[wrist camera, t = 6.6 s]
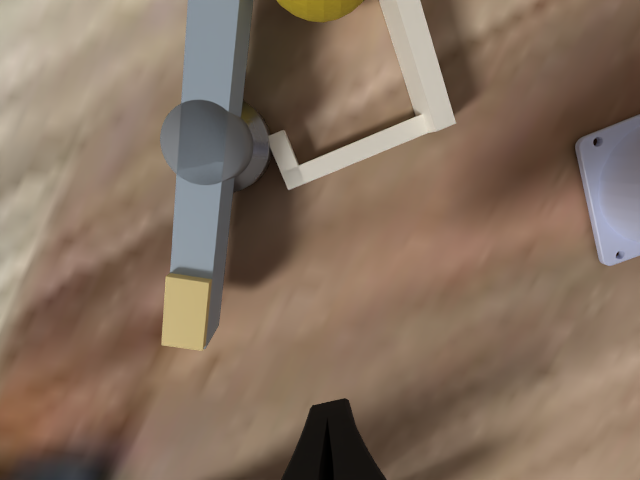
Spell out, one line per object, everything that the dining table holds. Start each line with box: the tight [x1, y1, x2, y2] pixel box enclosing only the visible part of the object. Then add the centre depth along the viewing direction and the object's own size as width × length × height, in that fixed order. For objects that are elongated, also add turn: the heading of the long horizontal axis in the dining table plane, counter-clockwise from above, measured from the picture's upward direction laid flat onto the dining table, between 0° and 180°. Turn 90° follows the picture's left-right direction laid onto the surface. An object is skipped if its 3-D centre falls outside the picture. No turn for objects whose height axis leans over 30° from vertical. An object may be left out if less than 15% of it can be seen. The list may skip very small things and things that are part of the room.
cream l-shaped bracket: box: [268, 0, 456, 190], centre depth 17 cm, size 9×11×2 cm
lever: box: [160, 0, 254, 351], centre depth 16 cm, size 4×20×3 cm, turn 170°
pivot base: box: [233, 101, 272, 192], centre depth 19 cm, size 5×5×2 cm
